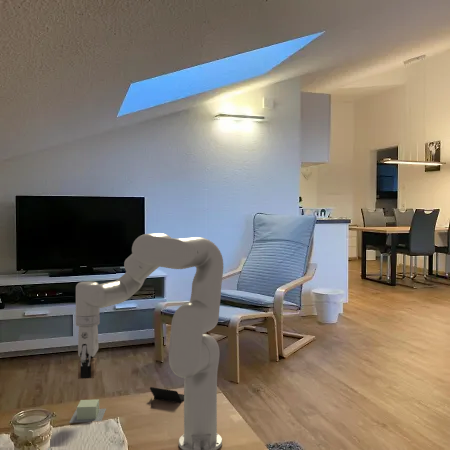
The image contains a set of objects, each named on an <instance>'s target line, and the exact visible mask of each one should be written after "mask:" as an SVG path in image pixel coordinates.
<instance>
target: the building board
mask: <svg viewBox="0 0 450 450" xmlns="http://www.w3.org/2000/svg"><path fill="white" fill-rule="evenodd" d="M106 410H107V408H99V413H98V415H97V418H96V419H82V420H77V409H75V411H74V413H73V415H72V416H71V419H70V420H69V422H68V423H69V424H75V423H92V422H91V421H101V422H102V420H103V418H104V416H105V412H106Z"/></svg>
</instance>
